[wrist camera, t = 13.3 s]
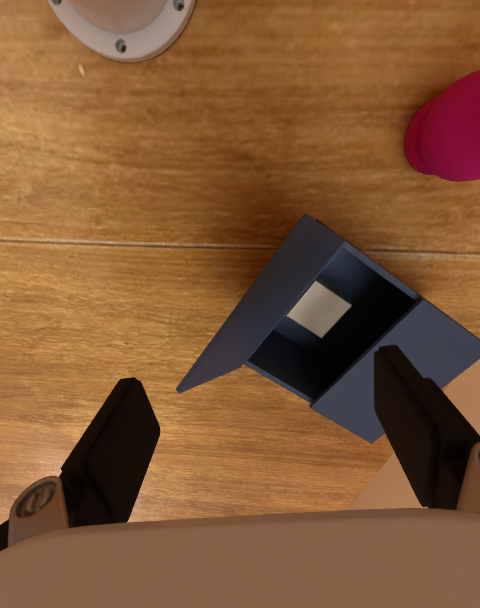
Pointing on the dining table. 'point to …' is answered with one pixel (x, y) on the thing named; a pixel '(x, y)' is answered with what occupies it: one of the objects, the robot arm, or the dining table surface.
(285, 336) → the carton
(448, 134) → the pepper mill
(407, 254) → the dining table surface
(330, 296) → the block
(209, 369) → the flap
